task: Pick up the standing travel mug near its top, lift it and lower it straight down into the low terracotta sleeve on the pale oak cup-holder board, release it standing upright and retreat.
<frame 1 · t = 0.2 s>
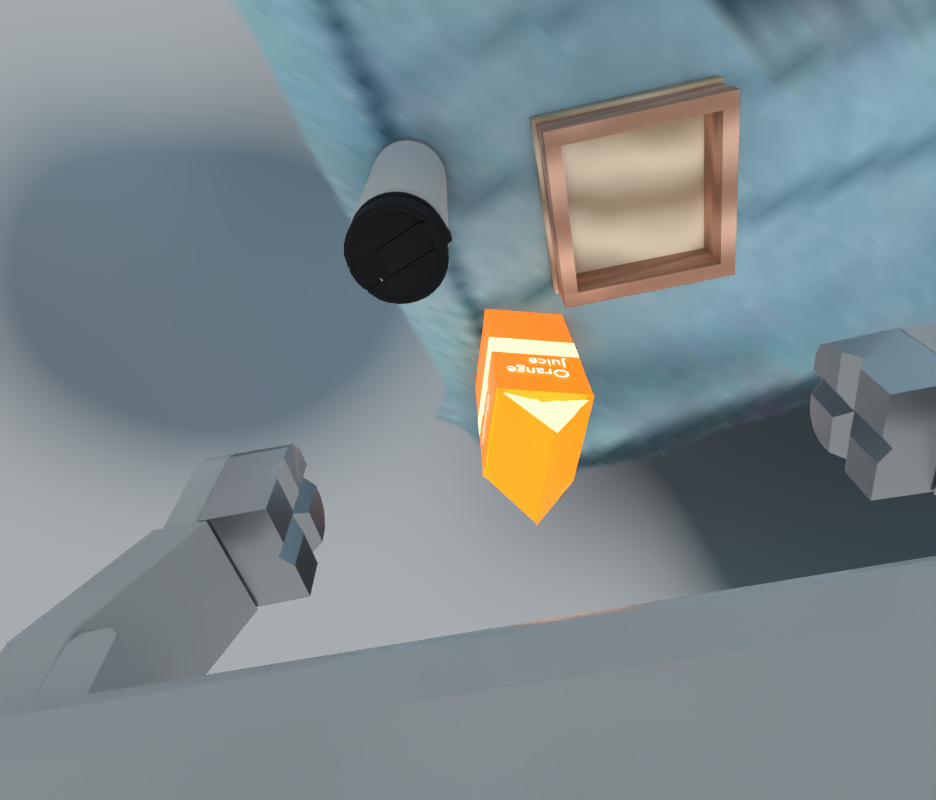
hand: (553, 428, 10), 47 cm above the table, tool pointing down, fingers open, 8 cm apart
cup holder: (627, 190, 54), on the table
orange juice: (517, 350, 63), on the table
travel mug: (411, 175, 53), on the table
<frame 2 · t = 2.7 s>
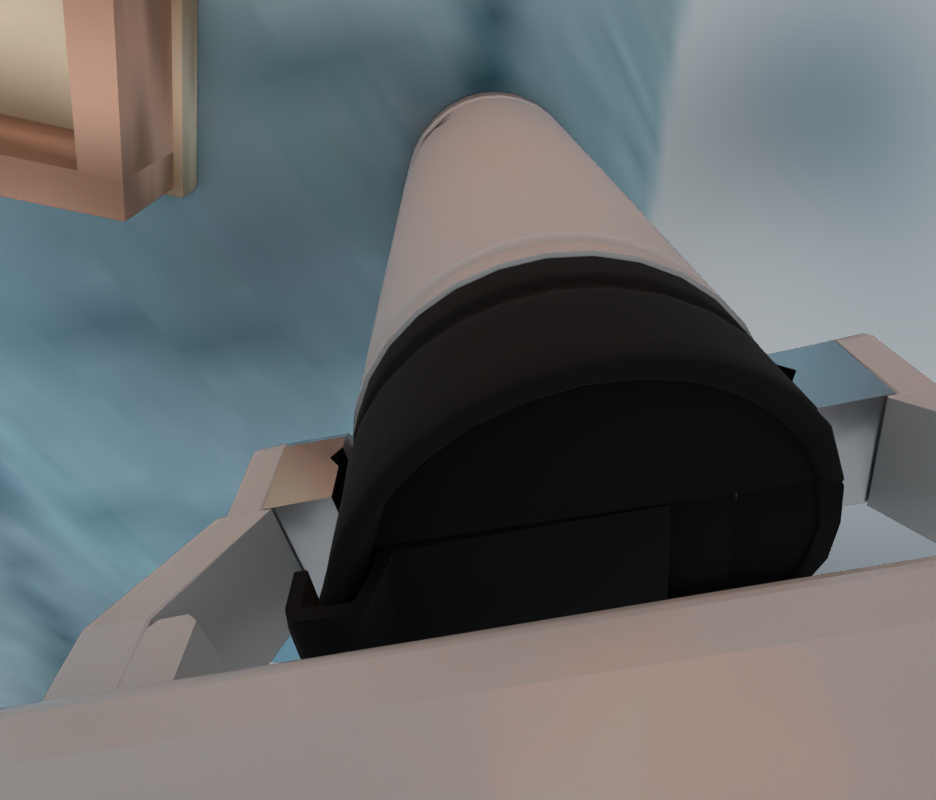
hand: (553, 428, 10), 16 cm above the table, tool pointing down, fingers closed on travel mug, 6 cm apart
travel mug: (487, 182, 24), on the table, touching gripper
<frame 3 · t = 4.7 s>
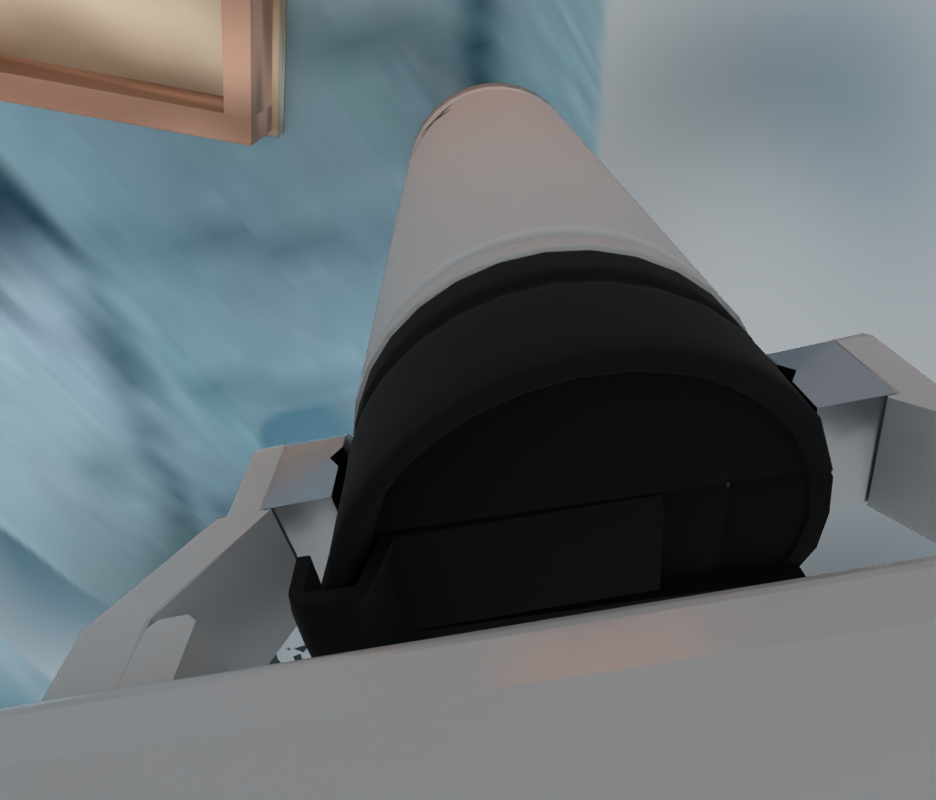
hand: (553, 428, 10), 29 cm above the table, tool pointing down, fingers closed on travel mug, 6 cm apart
travel mug: (487, 173, 24), point 12 cm above the table, touching gripper
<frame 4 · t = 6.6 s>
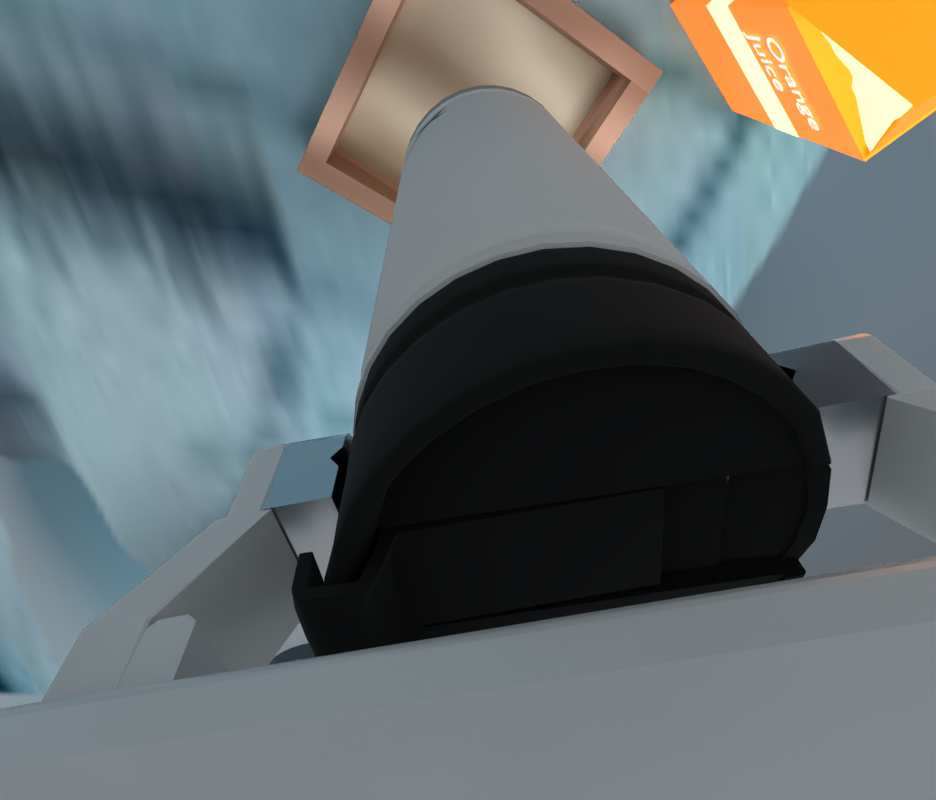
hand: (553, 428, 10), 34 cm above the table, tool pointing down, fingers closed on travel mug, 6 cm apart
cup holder: (470, 107, 39), on the table
orange juice: (766, 3, 36), on the table
travel mug: (481, 175, 24), point 17 cm above the table, touching gripper
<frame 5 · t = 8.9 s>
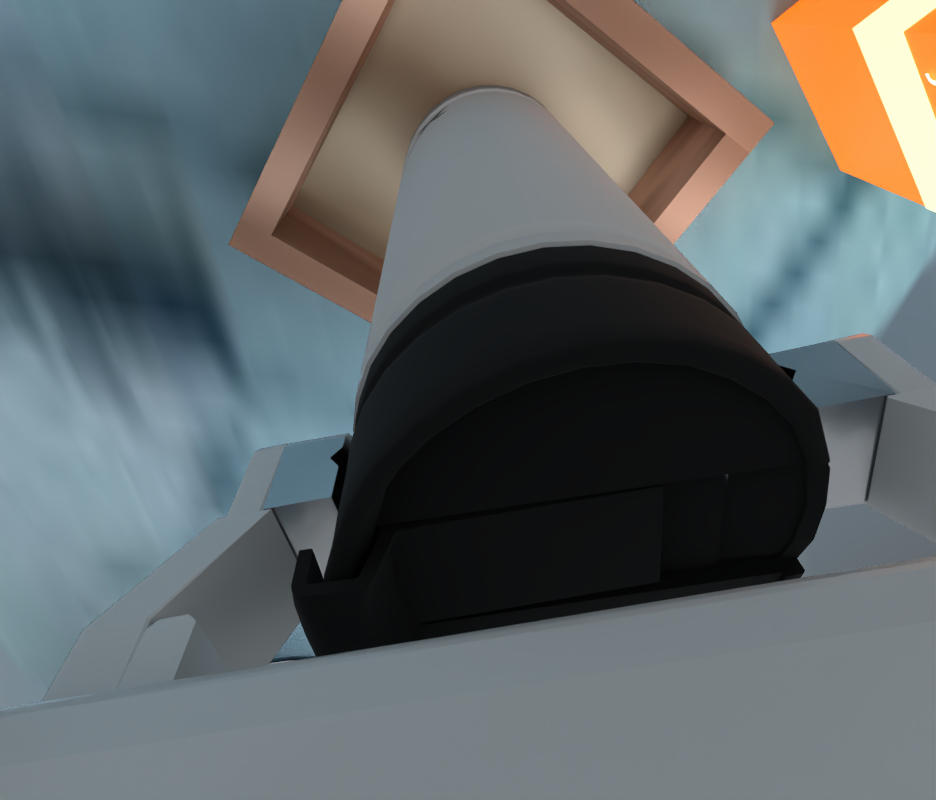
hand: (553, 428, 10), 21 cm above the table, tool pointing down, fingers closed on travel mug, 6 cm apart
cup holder: (483, 154, 28), on the table
orange juice: (904, 26, 26), on the table
travel mug: (482, 175, 24), point 4 cm above the table, touching gripper
when the fingers open (19 cm above the table, at t = 10.5 s): travel mug stays where it is, resting on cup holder.
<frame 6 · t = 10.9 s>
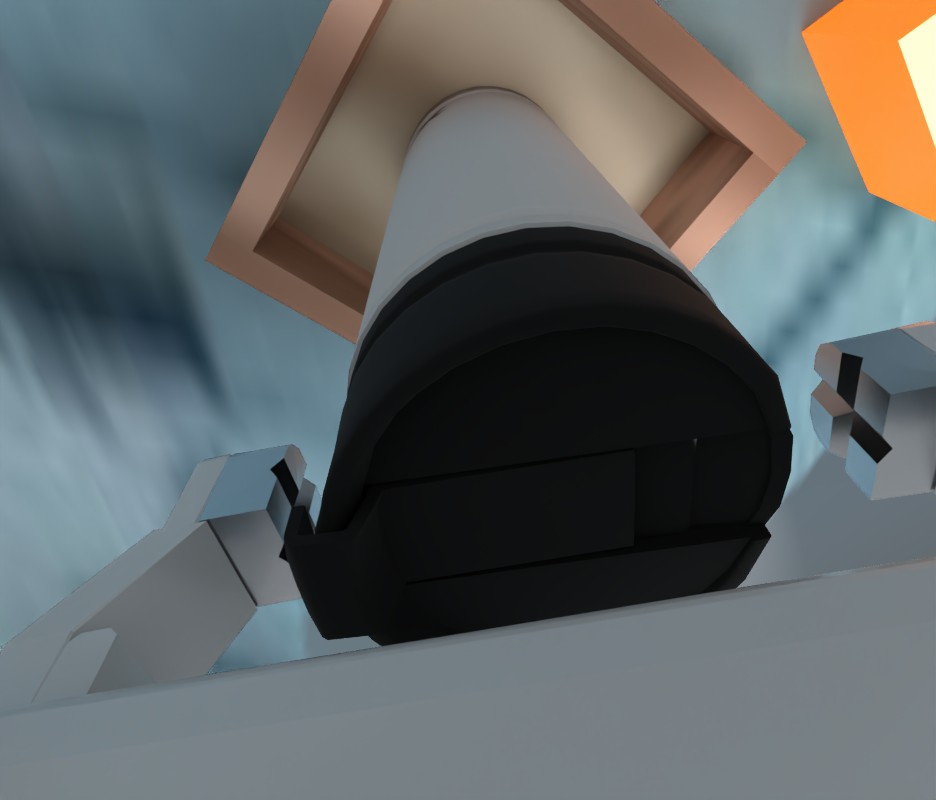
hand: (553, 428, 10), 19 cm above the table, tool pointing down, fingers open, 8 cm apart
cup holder: (486, 166, 26), on the table
travel mug: (480, 174, 25), point 1 cm above the table, touching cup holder
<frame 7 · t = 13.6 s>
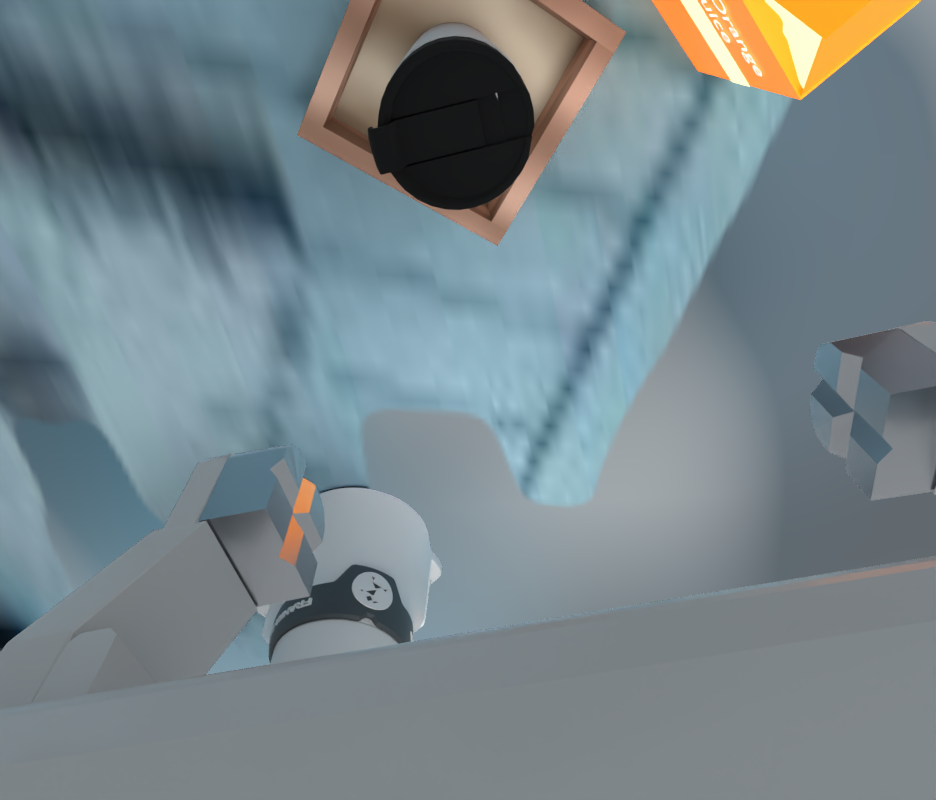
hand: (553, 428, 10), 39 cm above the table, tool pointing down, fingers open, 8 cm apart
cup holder: (455, 75, 42), on the table
travel mug: (450, 78, 41), point 1 cm above the table, touching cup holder
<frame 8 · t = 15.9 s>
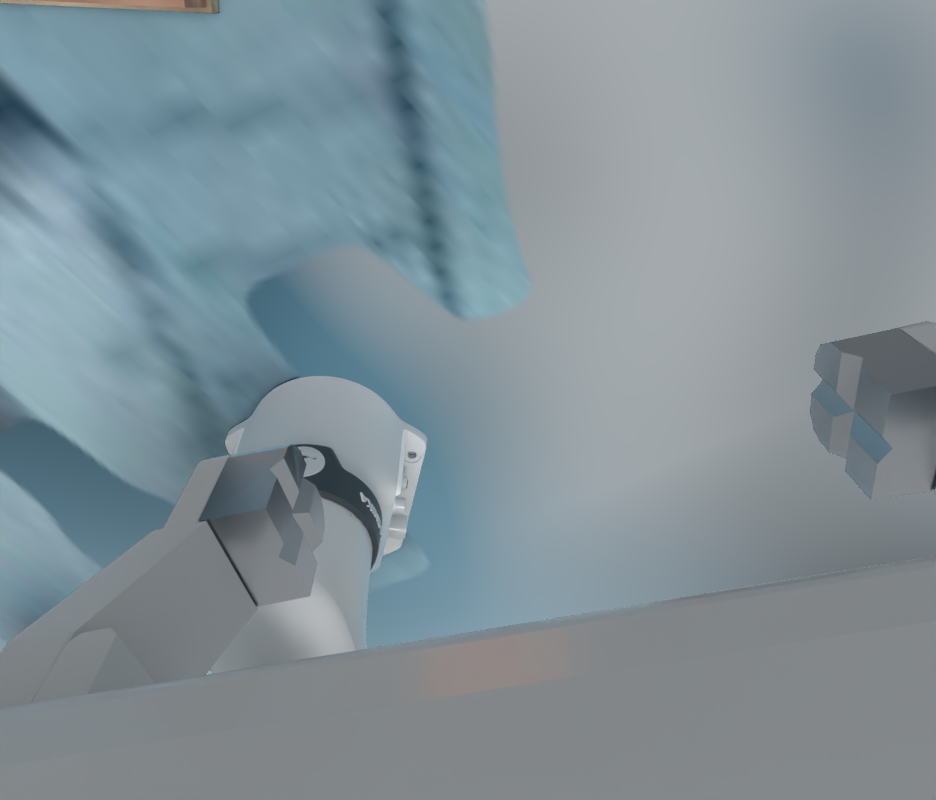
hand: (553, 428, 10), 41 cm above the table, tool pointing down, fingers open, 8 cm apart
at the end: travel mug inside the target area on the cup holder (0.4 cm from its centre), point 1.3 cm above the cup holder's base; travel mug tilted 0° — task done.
